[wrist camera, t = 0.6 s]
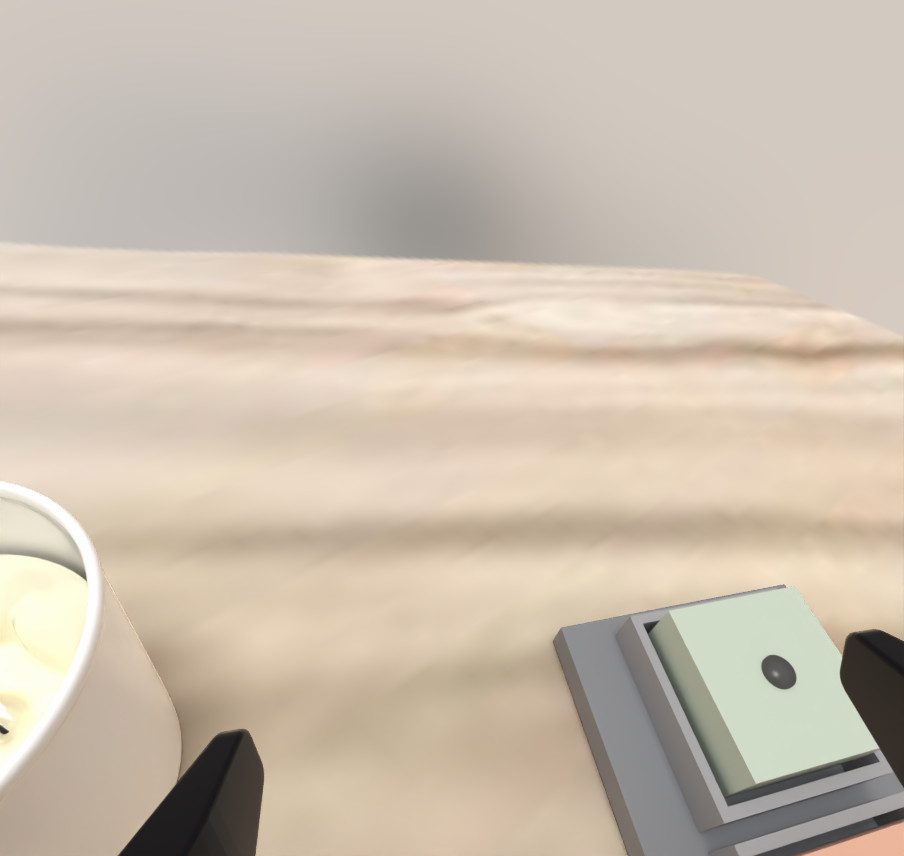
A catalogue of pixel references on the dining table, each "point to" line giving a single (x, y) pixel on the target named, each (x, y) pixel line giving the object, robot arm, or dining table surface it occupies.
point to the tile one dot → (760, 688)
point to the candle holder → (73, 694)
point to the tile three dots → (865, 843)
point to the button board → (699, 760)
